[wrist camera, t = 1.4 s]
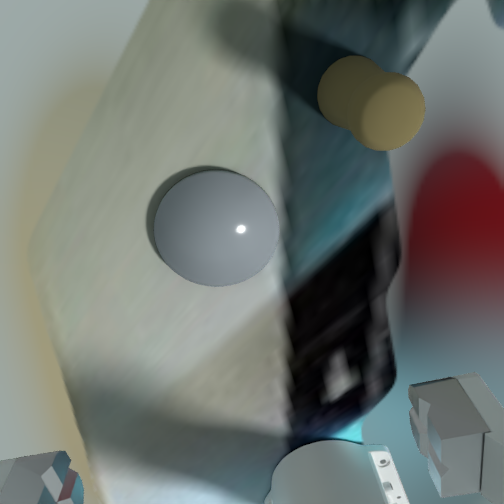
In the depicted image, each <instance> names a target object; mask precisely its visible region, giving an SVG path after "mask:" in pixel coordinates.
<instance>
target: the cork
mask: <svg viewBox="0 0 504 504" xmlns="http://www.w3.org/2000/svg"><path fill="white" fill-rule="evenodd" d="M317 100H318V104H319V109H320V110H321V112H322V114H323V115H324V117H325V118H326V119H327V120H328V121H329V122H331V123H332V124H333V125H336V126H339V127H342V128H345V129H348V130H351V132H352V134H353V135H354V137H355V138H356V139H357V140H358V141H359V142H360V143H361V144H363V145H364V146H365V147H368V148H370V149H373V150H393V149H396V148H399V147H401V146H403V145H404V144H406V143H407V142H409V141H410V140H411V139H412V138H413V137H414V136H415V134H416V133H417V132H418V131H419V129H420V127H421V125H422V122H423V120H424V114H425V101H424V97H423V95H422V93H421V91H420V89H419V87H418V85H417V84H416V83H415V82H414V81H413V80H411V79H410V78H409V77H407V76H404V75H402V74H399V73H395V72H384V71H383V70H382V69H381V68H380V67H379V66H378V65H377V64H375V63H374V62H373V61H372V60H371V59H368V58H366V57H363V56H347V57H344V58H341V59H339V60H337V61H336V62H335V63H333V64H332V65H331V66H329V68H328V69H327V70H326V72H325V73H324V74H323V75H322V78H321V80H320V83H319V86H318V94H317Z"/></svg>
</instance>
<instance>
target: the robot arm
mask: <svg viewBox="0 0 504 504" xmlns="http://www.w3.org/2000/svg"><path fill="white" fill-rule="evenodd" d="M408 395H409V399H410V401H411V403H412V406H413V407H412V408H411V410H410V411H409V415H410V424H411V429H412V433H413V436H414V439H415V442H416V444H417V447H418V449H419V451H420V453H421V454H422V455H424V456H425V457H427V458H428V471H429V473H430V475H431V477H432V480H433V482H434V484H435V486H436V488H437V490H438V492H439V494H440V497H441V498H444V497H450V496H457V495H464V494H470V493H477V492H481V495H483V496H484V497H485V498H486V499H488V500H489V501H490V502H491V503H493V504H504V408H503V407H502V405H501V404H500V403H499V401H498V400H497V399H496V397H495V396H494V394H493V393H492V392H491V391H490V389H489V388H488V386H487V385H486V384H485V382H484V381H483V379H482V378H481V377H480V375H478V374H477V373H475V372H473V373H468V374H464V375H458V376H453V377H447V378H442V379H437V380H432V381H428V382H422V383H417V384H412V385H409V389H408ZM70 462H71V459H70V458H69V456H68V455H67V453H66V451H56V452H49V453H43V454H37V455H31V456H24V457H20V458H14V459H8V460H2V461H0V504H83V503H84V488H83V484H82V480H81V478H80V476H79V474H78V473H77V472H75V471H73V470H72V469H70V468H69V465H70ZM264 504H410V503H409V500H408V498H407V495H406V493H405V490H404V488H403V485H402V482H401V480H400V477H399V475H398V472H397V469H396V467H395V464H394V462H393V459H392V457H391V454H390V451H389V449H388V447H387V446H385V445H360V444H356V443H352V442H347V441H340V440H327V441H320V442H315V443H311V444H308V445H305V446H302V447H300V448H298V449H296V450H294V451H293V452H291V453H290V454H288V455H287V456H286V457H285V458H283V459H282V460H281V461H280V463H279V464H278V465H277V467H276V468H275V470H274V472H273V476H272V485H271V491H270V492H269V493H268V495H267V496H266V498H265V500H264Z"/></svg>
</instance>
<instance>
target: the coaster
mask: <svg viewBox="0 0 504 504" xmlns="http://www.w3.org/2000/svg"><path fill="white" fill-rule="evenodd" d="M154 237H155V242H156V246H157V248H158V251H159V253H160V255H161V256H162V258H163V260H164V261H165V262H166V264H167V265H168V266H169V267H170V268H171V269H172V270H173V271H174V272H176V273H177V274H178V275H180V276H181V277H183V278H185V279H187V280H189V281H191V282H194V283H197V284H200V285H205V286H214V287H219V286H229V285H233V284H237V283H240V282H243V281H245V280H247V279H249V278H251V277H252V276H254V275H255V274H257V273H258V272H259V271H260V270H262V269H263V268H264V267H265V265H266V264H267V263H268V262H269V260H270V259H271V257H272V256H273V254H274V252H275V249H276V246H277V243H278V238H279V221H278V217H277V213H276V210H275V207H274V205H273V203H272V201H271V199H270V197H269V196H268V195H267V193H266V192H265V191H264V190H263V189H262V188H261V187H260V186H259V185H258V184H257V183H255V182H254V181H252V180H251V179H249V178H247V177H245V176H243V175H241V174H238V173H235V172H231V171H225V170H207V171H201V172H198V173H194V174H192V175H189V176H187V177H185V178H184V179H182V180H180V181H179V182H177V183H176V184H175V185H174V186H173V187H172V188H171V189H170V190H169V191H168V192H167V193H166V194H165V196H164V197H163V199H162V201H161V203H160V204H159V207H158V210H157V213H156V216H155V221H154Z"/></svg>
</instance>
